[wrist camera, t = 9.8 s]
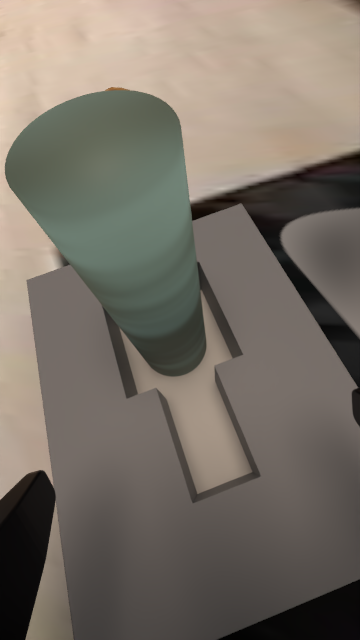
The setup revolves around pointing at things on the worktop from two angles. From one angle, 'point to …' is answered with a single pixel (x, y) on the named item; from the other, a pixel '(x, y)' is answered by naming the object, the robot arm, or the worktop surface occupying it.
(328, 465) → the keyhole plate
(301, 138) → the worktop surface
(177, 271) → the teal post
